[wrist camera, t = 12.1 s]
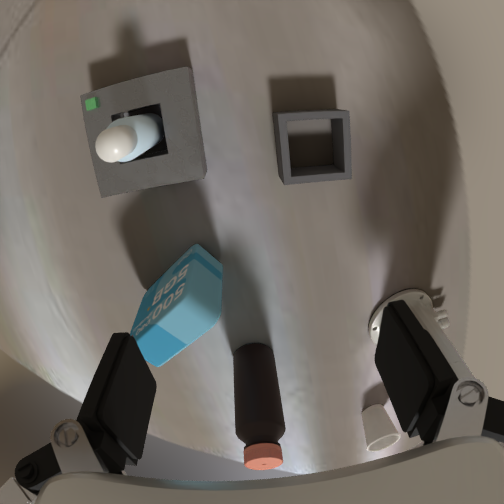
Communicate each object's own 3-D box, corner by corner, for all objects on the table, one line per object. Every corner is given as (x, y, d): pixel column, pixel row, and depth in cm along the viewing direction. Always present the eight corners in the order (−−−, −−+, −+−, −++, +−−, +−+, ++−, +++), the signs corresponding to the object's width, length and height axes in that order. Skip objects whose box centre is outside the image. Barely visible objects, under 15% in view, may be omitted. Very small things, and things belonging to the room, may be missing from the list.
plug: (162, 109, 31) (129, 115, 20) (168, 142, 33) (138, 164, 22) (130, 117, 31) (84, 128, 20) (136, 149, 33) (94, 174, 22)
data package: (198, 238, 39) (187, 294, 28) (224, 260, 40) (222, 320, 30) (144, 292, 42) (123, 352, 31) (168, 310, 44) (154, 372, 33)
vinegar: (229, 366, 50) (232, 471, 32) (238, 339, 47) (243, 453, 29) (267, 370, 51) (280, 472, 34) (279, 344, 48) (298, 454, 31)
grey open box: (337, 109, 32) (349, 110, 28) (340, 170, 35) (351, 178, 32) (272, 112, 32) (277, 114, 28) (278, 176, 35) (284, 185, 32)
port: (192, 70, 29) (186, 65, 25) (207, 170, 34) (203, 180, 30) (95, 95, 29) (77, 95, 25) (113, 187, 34) (99, 199, 30)
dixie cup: (349, 415, 62) (360, 449, 54) (377, 397, 60) (391, 432, 51) (367, 422, 65) (377, 453, 56) (393, 405, 63) (406, 436, 54)
